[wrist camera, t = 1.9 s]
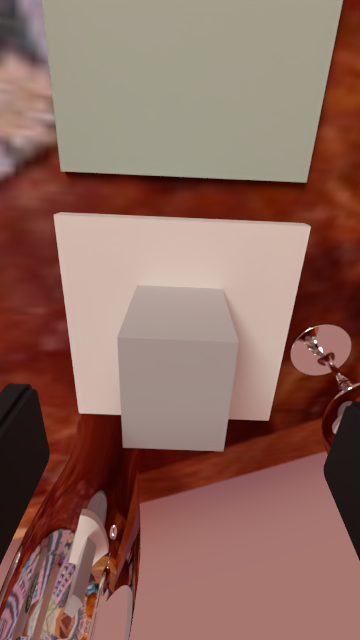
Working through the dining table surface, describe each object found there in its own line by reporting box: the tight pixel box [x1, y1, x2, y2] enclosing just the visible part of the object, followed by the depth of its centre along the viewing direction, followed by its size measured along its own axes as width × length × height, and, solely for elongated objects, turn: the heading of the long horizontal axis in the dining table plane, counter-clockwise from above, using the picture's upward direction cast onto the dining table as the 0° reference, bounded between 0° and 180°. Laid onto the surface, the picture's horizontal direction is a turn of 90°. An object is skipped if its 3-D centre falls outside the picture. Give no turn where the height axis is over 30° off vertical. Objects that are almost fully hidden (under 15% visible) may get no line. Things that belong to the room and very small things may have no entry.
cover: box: [54, 212, 311, 451], centre depth 14 cm, size 11×11×6 cm
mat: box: [42, 0, 343, 183], centre depth 15 cm, size 14×14×1 cm
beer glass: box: [0, 413, 145, 640], centre depth 21 cm, size 7×7×15 cm
